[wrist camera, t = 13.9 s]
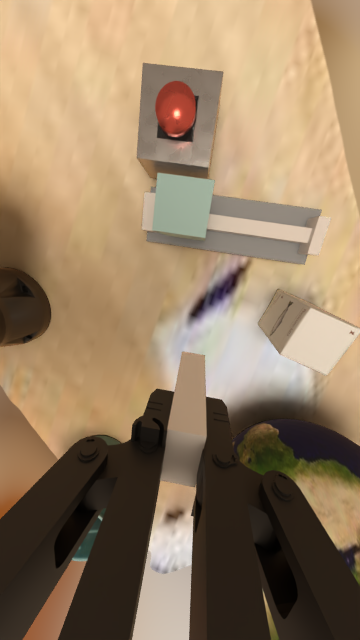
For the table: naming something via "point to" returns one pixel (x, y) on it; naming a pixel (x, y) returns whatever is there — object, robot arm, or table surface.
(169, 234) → the sage green rectangular prism
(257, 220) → the rail
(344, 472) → the globe
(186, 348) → the table surface
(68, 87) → the table surface
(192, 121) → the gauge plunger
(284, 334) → the supplement box
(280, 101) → the table surface
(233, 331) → the table surface
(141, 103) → the grey boxy piece
